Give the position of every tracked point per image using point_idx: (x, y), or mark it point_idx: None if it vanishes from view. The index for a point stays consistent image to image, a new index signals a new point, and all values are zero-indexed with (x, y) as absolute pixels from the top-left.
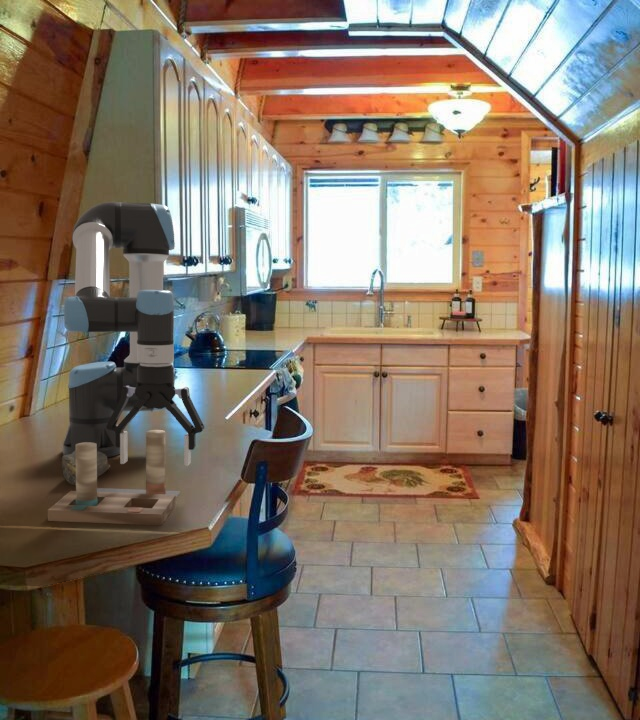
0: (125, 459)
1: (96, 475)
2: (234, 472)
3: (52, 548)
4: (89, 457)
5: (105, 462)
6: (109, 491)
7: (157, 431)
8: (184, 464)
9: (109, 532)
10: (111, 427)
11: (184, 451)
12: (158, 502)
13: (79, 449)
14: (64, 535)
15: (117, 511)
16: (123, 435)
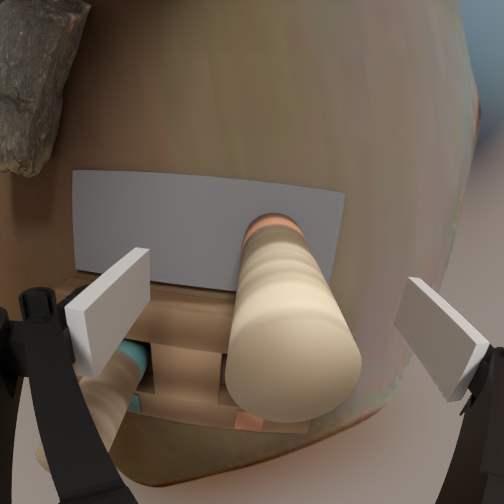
0: (145, 284)
1: (122, 414)
2: (460, 19)
3: (152, 460)
4: None
5: (70, 27)
6: (127, 201)
7: (306, 364)
8: (396, 325)
9: (212, 430)
10: (21, 378)
11: (416, 354)
12: None
13: None
14: (144, 431)
15: (212, 422)
16: (99, 373)
